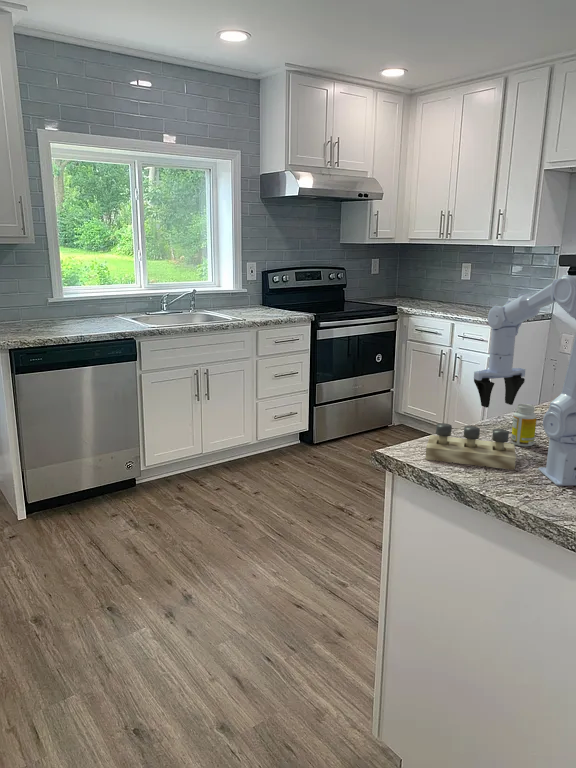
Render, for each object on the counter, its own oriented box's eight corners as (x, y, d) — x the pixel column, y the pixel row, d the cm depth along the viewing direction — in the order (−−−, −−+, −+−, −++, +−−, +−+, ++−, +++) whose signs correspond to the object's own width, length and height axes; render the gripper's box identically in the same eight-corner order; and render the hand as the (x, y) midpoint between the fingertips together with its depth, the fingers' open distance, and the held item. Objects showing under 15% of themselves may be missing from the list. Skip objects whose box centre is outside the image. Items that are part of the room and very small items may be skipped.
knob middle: (478, 447, 140) (480, 426, 139) (478, 452, 137) (479, 431, 136) (462, 445, 141) (464, 425, 140) (462, 450, 138) (463, 429, 137)
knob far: (450, 444, 142) (452, 424, 141) (449, 448, 139) (451, 428, 138) (435, 442, 143) (437, 422, 142) (434, 447, 140) (435, 426, 139)
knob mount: (512, 455, 141) (514, 443, 140) (514, 469, 132) (515, 457, 131) (429, 446, 147) (430, 435, 147) (425, 459, 138) (426, 447, 137)
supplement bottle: (537, 444, 149) (542, 406, 147) (526, 448, 146) (530, 410, 143) (517, 438, 153) (521, 401, 151) (506, 443, 150) (510, 405, 148)
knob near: (506, 450, 138) (508, 429, 137) (507, 455, 135) (509, 434, 134) (490, 448, 139) (492, 428, 138) (490, 453, 136) (492, 432, 135)
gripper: (513, 349, 152) (508, 399, 155) (467, 352, 147) (463, 403, 150) (533, 353, 146) (527, 405, 149) (486, 357, 141) (481, 410, 144)
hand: (496, 405), depth 149 cm, fingers open, 7 cm apart
